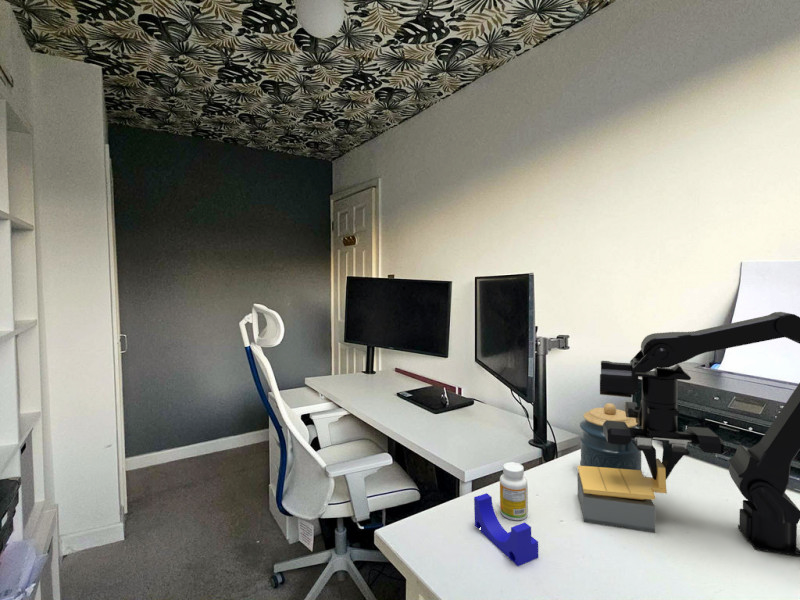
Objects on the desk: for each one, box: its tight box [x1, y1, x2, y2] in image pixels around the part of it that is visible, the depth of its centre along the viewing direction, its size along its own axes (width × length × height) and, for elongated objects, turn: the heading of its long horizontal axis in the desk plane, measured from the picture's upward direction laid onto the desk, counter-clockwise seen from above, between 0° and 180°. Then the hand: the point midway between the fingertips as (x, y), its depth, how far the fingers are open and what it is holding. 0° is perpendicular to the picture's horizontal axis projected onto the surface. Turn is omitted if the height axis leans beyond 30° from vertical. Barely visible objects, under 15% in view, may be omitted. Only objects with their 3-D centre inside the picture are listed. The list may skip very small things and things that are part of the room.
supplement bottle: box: [499, 461, 529, 521], centre depth 79 cm, size 5×5×10 cm
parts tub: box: [577, 472, 656, 534], centre depth 79 cm, size 12×10×5 cm
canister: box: [579, 402, 643, 473], centre depth 93 cm, size 13×13×18 cm
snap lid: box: [577, 458, 668, 501], centre depth 78 cm, size 15×10×6 cm
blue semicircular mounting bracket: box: [473, 493, 539, 567], centre depth 71 cm, size 12×4×6 cm, turn 25°
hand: (658, 479), depth 76 cm, fingers closed on snap lid
